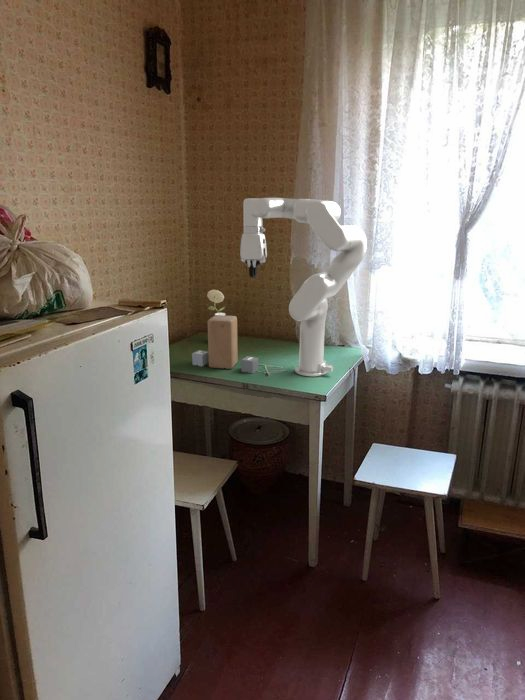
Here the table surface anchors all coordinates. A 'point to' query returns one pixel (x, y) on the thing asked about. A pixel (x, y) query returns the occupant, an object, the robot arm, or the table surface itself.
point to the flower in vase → (216, 300)
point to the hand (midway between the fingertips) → (253, 276)
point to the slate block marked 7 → (200, 358)
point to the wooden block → (222, 341)
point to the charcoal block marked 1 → (250, 364)
